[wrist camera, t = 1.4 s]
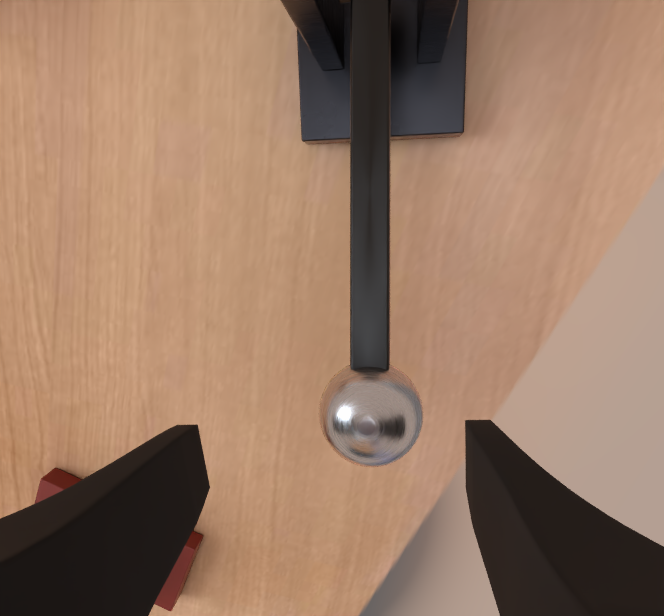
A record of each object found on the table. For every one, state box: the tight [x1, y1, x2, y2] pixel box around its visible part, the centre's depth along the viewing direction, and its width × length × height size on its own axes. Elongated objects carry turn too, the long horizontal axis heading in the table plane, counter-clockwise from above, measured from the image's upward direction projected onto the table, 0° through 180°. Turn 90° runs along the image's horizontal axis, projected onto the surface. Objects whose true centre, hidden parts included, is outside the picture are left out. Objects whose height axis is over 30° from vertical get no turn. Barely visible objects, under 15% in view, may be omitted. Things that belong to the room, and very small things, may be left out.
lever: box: [319, 0, 423, 467], centre depth 13 cm, size 17×3×3 cm, turn 2°
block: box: [35, 468, 203, 611], centre depth 27 cm, size 10×6×3 cm, turn 68°
